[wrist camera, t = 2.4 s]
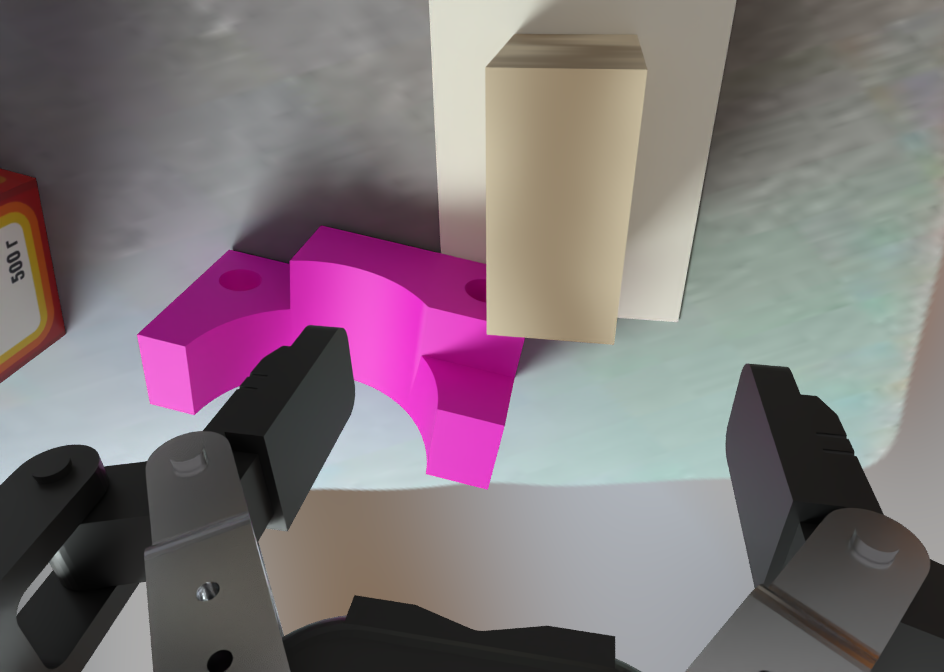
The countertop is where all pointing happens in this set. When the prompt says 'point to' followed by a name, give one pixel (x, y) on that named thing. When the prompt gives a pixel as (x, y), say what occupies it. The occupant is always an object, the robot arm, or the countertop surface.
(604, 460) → the countertop surface
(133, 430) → the countertop surface
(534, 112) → the maple block
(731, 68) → the countertop surface
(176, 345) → the toy block
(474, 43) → the tile
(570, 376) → the countertop surface
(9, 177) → the baking soda box
